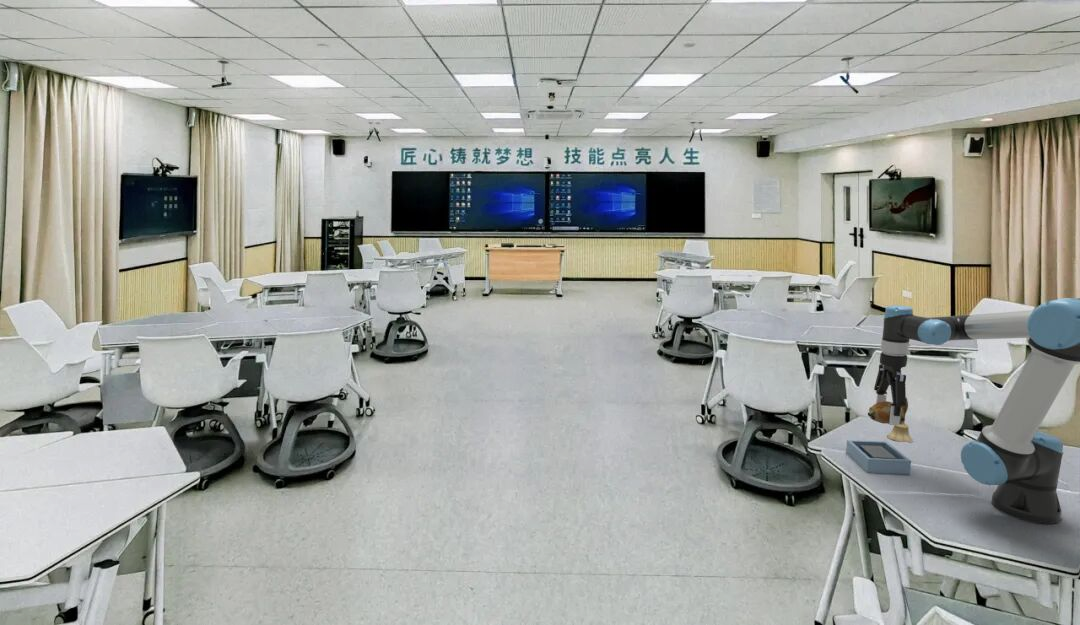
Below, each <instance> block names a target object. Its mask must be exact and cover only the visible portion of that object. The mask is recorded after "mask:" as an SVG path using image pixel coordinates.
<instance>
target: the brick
mask: <svg viewBox="0 0 1080 625" xmlns="http://www.w3.org/2000/svg"><path fill="white" fill-rule="evenodd" d="M860 449H861V450H862V451H863V452H864V453H865V454H866V455H867V456H868V457H869V458H881V459H896V457H894V456H893V455H892V454H891V453H889V452H888V451H887V450H886V449H885V448H883V447H882V446H869V445H860Z"/></svg>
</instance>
